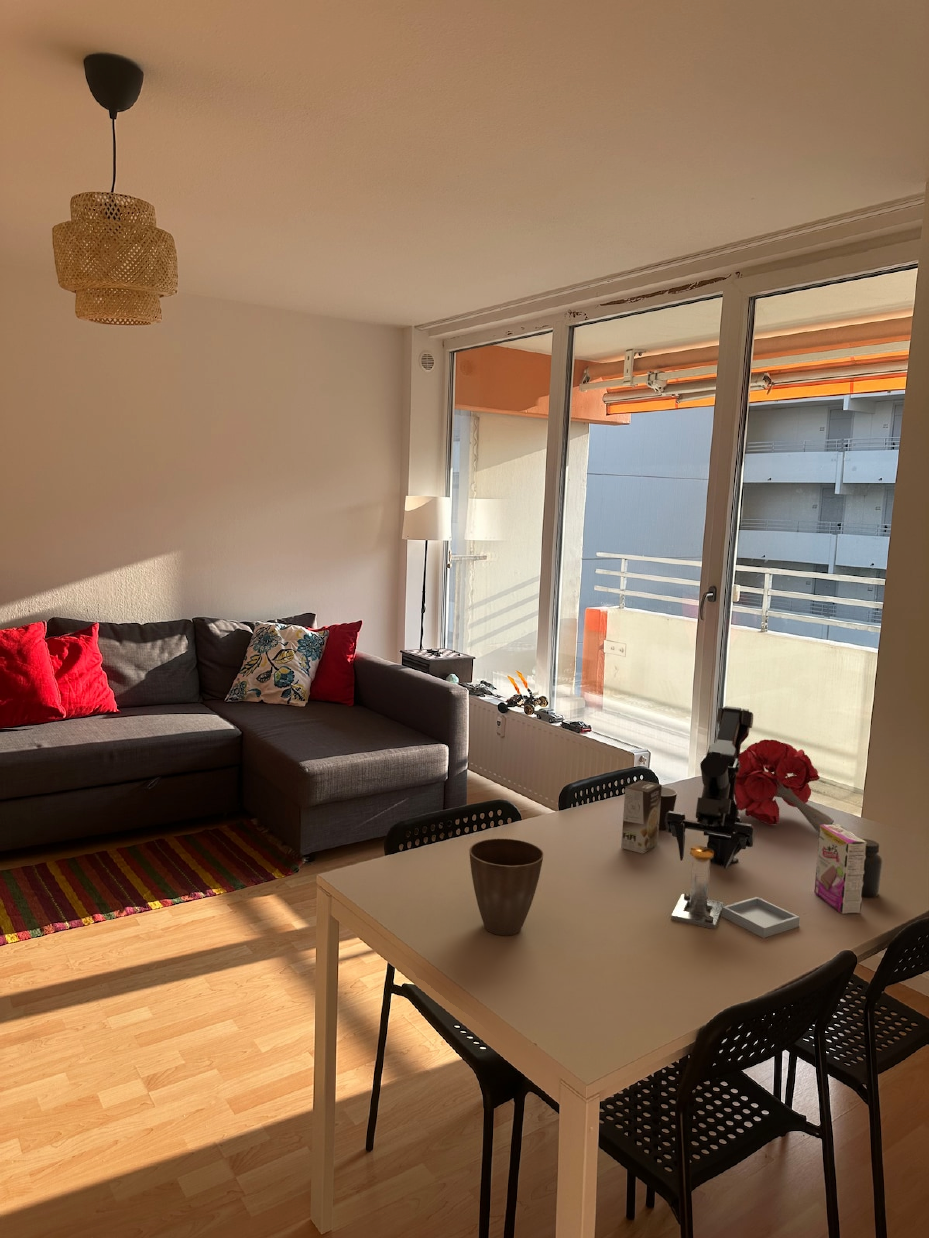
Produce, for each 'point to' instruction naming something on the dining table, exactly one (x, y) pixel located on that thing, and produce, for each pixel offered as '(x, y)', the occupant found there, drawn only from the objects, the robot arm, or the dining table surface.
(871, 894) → the supplement bottle
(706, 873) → the orange capped tube
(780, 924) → the tray
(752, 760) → the bouquet
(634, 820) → the coffee box
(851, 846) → the candy bar box
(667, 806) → the coffee mug
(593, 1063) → the dining table surface
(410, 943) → the dining table surface
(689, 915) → the plate
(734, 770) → the robot arm
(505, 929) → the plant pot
